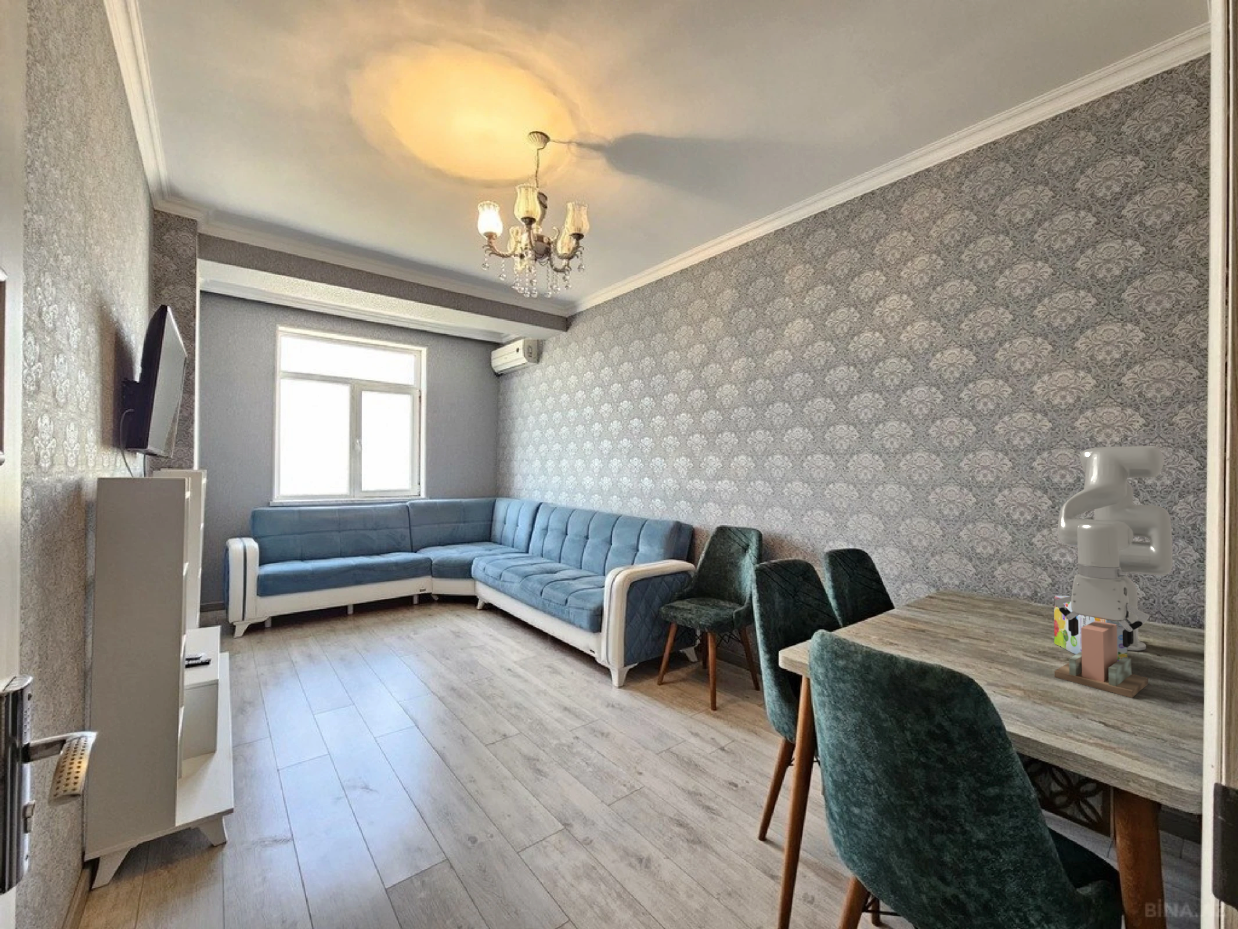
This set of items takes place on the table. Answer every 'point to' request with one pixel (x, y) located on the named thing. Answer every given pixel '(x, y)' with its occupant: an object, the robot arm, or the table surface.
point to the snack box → (1074, 642)
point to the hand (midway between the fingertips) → (1099, 640)
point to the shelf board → (1117, 682)
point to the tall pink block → (1098, 649)
